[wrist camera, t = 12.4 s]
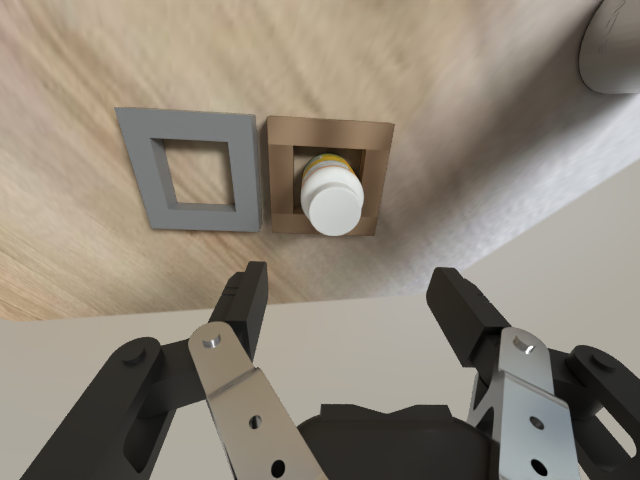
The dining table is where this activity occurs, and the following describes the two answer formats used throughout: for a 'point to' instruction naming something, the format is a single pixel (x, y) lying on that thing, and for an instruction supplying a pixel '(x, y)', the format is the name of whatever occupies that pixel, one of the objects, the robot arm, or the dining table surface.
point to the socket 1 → (155, 178)
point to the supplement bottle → (331, 195)
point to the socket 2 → (335, 135)
